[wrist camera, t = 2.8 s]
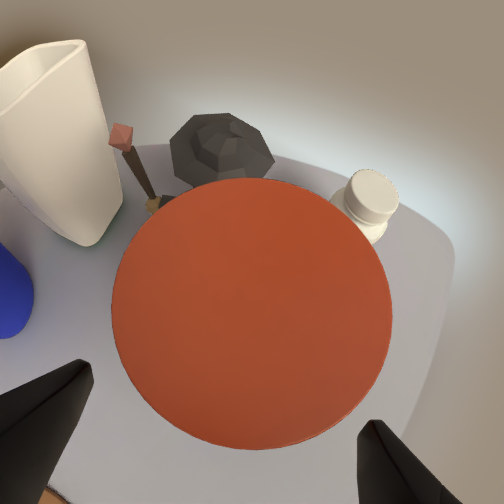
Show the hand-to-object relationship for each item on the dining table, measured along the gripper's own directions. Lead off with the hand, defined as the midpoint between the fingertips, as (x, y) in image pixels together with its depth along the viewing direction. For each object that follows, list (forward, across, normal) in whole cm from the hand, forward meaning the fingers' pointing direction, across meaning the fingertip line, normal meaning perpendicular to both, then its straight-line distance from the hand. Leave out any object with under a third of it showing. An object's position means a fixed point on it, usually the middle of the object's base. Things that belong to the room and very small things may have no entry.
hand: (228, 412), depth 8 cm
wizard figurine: (+16, +4, 0) cm, 17 cm away
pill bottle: (+17, -6, -1) cm, 18 cm away
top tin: (+7, 0, +3) cm, 7 cm away
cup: (+16, +15, 0) cm, 22 cm away
